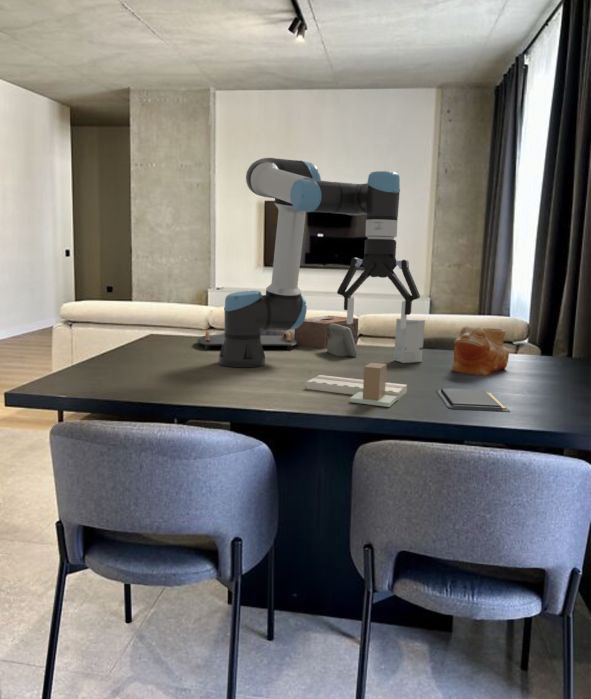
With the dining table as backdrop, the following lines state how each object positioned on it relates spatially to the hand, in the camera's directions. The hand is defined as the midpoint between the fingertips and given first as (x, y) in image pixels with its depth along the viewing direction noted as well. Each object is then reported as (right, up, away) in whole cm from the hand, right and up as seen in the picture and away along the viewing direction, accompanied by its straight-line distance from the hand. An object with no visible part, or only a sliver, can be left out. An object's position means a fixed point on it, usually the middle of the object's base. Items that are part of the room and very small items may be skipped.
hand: (375, 325), depth 145 cm
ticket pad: (-3, -17, +13) cm, 21 cm away
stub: (0, -19, +1) cm, 19 cm away
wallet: (+25, -20, +5) cm, 32 cm away
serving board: (-39, -5, +83) cm, 92 cm away
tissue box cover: (-7, -4, +96) cm, 96 cm away
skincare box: (+19, -10, +59) cm, 63 cm away
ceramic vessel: (+40, -13, +47) cm, 63 cm away
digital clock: (-3, -8, +71) cm, 71 cm away
